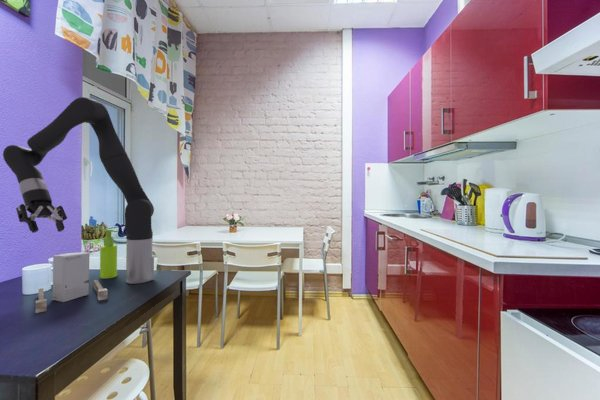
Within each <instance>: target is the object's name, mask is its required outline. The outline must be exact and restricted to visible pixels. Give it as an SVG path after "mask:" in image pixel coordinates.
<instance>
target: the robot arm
mask: <svg viewBox="0 0 600 400" xmlns="http://www.w3.org/2000/svg"><path fill="white" fill-rule="evenodd" d="M83 123H84V124H85V123H86V124H89V125H90V126H91V128H92V129H93V131H94V133H95V135H96V138H97V140H98V154H99V159H100V162H101V163H102V165H103V167H104V169H105V171H106V173H107V174H108V176H109V178H110V179H111V180H112V182H114V184H115V185H116V186H117V187H118V188H119V190H120V191H121V193H122V194H123V197H124V198H125V201H126V206H125V208H124V232H125V235H126V259H125V260H126V265H125V266H126V268H125V269H126V271H125V272H126V273H125V274H126V275H125V281H126V283H127V284H131V285H132V284H135V285H137V284H143V283H147V282H150V281H154V280H155V257H154V255H153V246H154V245H153V243H154V242H153V236H154V235H153V230H152V229H153V228H152V217H153V215H154V211H155V207H154V205H153V203H152V202H151V200H150V198H149V197H148V195H147V194H146V192H145V190H144V189H143V187H142V186H141V183H140V180H139V177H138V175H137V174H136V169H134V166H133V163H132V162H131V159H130V158H129V155H128V153H127V152H126V150H125V148H124V147H123V143H122V141H121V140H120V138H119V135H118V134H117V132H116V130H115V127H114V124H113V121H112V118H111V116H110V113H109V111H108V108H107V107H106V106H105V105H104V104H103V103H102V102H100V101H98V100H94V99H92V98H89V97H85V96H84V97H83V96H81V97H80V96H79V97H77V98H75V99H74V100H72V101H71V102H70V104H68V105H67V106H66V107H65V108H64V109H63V111H61V113H60V114H58V116H56V117H55V118H54V120H53V121H51V122H50V123H49V124H48V125H46V126H45V127H44V128H42V129H41V130H40V131H37V132H36V133H35V134H33V135H32V136H31V137H30V138H28V139H27V142H26V143H27V145H28V147H29V148H26V147H24V146H22V145H18V144H17V145H15V144H10V145H8V146H6V147H5V148H4V150H3V153H2V156H3V161H4V162H5V164H6V165H7V166H8V168H9V169H10V170H11V171H12V173H13V174H14V175H15V178H16V180H17V182H18V185H19V190H20V193H21V197H22V200H23V202H24V203H21V204H20V205H18V206H17V207H16V208H15V209H16V213H17V217H18V222H20V223H26V224H27V226H28V229H29V231H30V232H31V233H35V234H36V233H37V232H39V226H38V224H37V221H36V218H38V219H40V218H43V219H48V220H49V221H53V222H54V223H55V227H56V229H57V232H62V231H64V229H65V224H64V223H63V222H64V221H65V220H67V219H68V216H67V215H66V212H65V210H64V207H63V206H62V205H59V206H54V205H53V199H52V197H51V194H50V191H49V189H48V186H47V184H46V183H45V180H44V178H43V177H44V176H43V174H42V172H41V171H40V169H39V168H38V167H36V166H38V165H40V164H41V163H42V162H43V160H44V158H45V157H46V155H48V153H49V152H51V151H52V150H53V149H55V148H56V147H58V146H59V145H60V144H62V143H63V142H64V140H65V139H66V137H67V135H68V133H69V132H70V131H71V130H72V129H74V128H75V127H77V126H79V125H82V124H83ZM27 211H28V212H27ZM28 213H30V214H29V215H28Z"/></svg>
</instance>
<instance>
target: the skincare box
mask: <svg viewBox="0 0 600 400" xmlns="http://www.w3.org/2000/svg"><path fill="white" fill-rule="evenodd" d="M89 285H90V252H82V251H76V252H68V253H61V254H55V255H52V297H51V299H52V300H53V301H57V302H60V303H65V302H69V301H72V300H74V299H75V300H76V299H79V298H82V297H85V296H89V294H90V291H89V290H90V286H89Z"/></svg>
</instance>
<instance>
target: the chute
mask: <svg viewBox="0 0 600 400" xmlns="http://www.w3.org/2000/svg"><path fill="white" fill-rule="evenodd" d="M93 289H94V291H95V292H96V294H97V301H105V300H108V297H109V296H108V291H109V290H108V289H107V288H104V287H103V286H102V285H101V283H100V281H99V280H98V279H95V280H93ZM47 306H48V304H47V298H45V297H44V288H38V299H36V300H35V314H38V313H43V312H47V311H48V309H47Z"/></svg>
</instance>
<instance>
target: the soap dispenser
mask: <svg viewBox="0 0 600 400" xmlns="http://www.w3.org/2000/svg"><path fill="white" fill-rule="evenodd" d="M103 232H105V233H106V236H105V237H103V245H100V246H99V248H100V250H99V260H100V261H99V267H100V269H99V278H100V279H102V280H103V279H106V280H107V279H111V278H116V277H117V276H118V245H117V244H115V243H114V241H115V240H114V239H115V238H114V236H112V232H114V233H118V232H120V230H119V229H115V228H114V229H111V228H110V229H104V230H103Z"/></svg>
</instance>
